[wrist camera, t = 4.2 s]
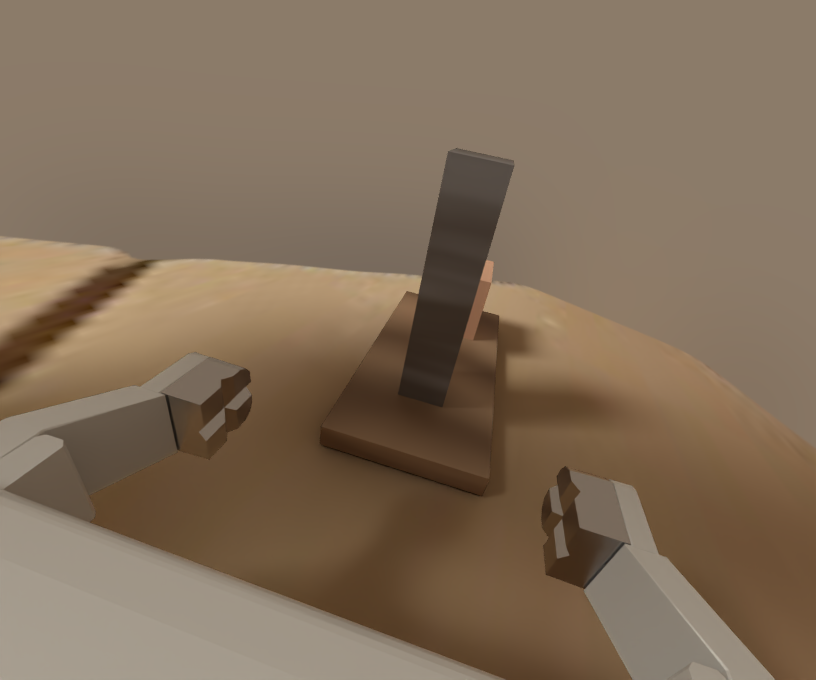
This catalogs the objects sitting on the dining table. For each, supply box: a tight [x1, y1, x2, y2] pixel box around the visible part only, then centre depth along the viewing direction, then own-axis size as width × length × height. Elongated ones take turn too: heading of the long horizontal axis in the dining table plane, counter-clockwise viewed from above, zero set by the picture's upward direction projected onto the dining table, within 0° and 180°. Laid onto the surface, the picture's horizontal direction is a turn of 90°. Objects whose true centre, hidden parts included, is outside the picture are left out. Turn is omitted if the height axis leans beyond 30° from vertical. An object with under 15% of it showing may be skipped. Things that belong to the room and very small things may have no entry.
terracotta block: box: [463, 260, 494, 340], centre depth 27 cm, size 4×4×4 cm
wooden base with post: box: [320, 148, 514, 496], centre depth 21 cm, size 17×8×13 cm, turn 167°
